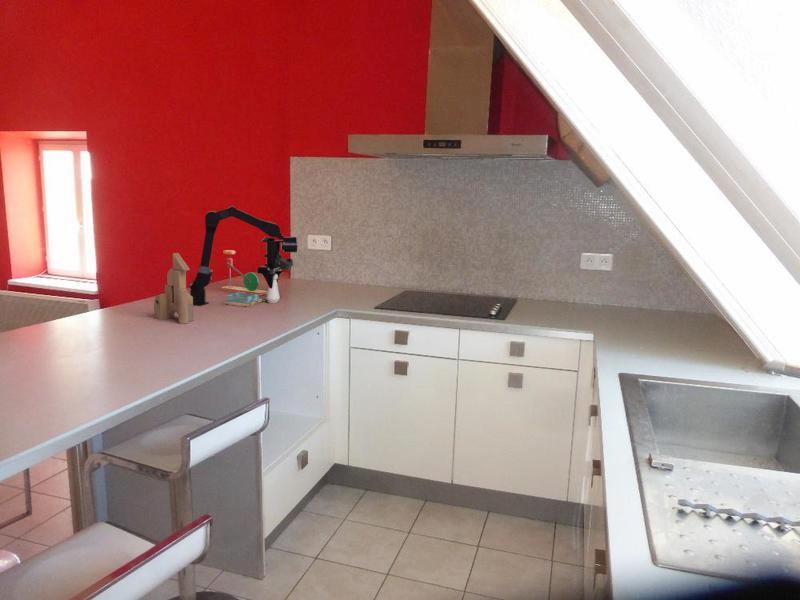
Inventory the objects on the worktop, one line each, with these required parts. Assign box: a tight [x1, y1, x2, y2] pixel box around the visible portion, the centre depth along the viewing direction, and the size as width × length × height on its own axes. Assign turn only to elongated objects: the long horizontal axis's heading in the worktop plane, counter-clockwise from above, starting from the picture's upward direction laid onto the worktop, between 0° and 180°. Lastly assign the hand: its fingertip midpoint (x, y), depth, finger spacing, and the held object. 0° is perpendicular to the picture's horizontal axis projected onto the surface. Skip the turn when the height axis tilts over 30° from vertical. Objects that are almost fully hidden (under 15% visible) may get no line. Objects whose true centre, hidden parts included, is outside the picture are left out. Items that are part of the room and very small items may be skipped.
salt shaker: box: [265, 274, 281, 304], centre depth 256 cm, size 6×6×13 cm
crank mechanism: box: [220, 249, 268, 294], centre depth 279 cm, size 25×7×19 cm, turn 63°
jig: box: [222, 292, 267, 307], centre depth 255 cm, size 18×12×4 cm, turn 166°
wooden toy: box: [153, 252, 194, 325], centre depth 215 cm, size 15×7×25 cm, turn 63°
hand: (273, 287), depth 256 cm, fingers closed on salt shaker, 3 cm apart
